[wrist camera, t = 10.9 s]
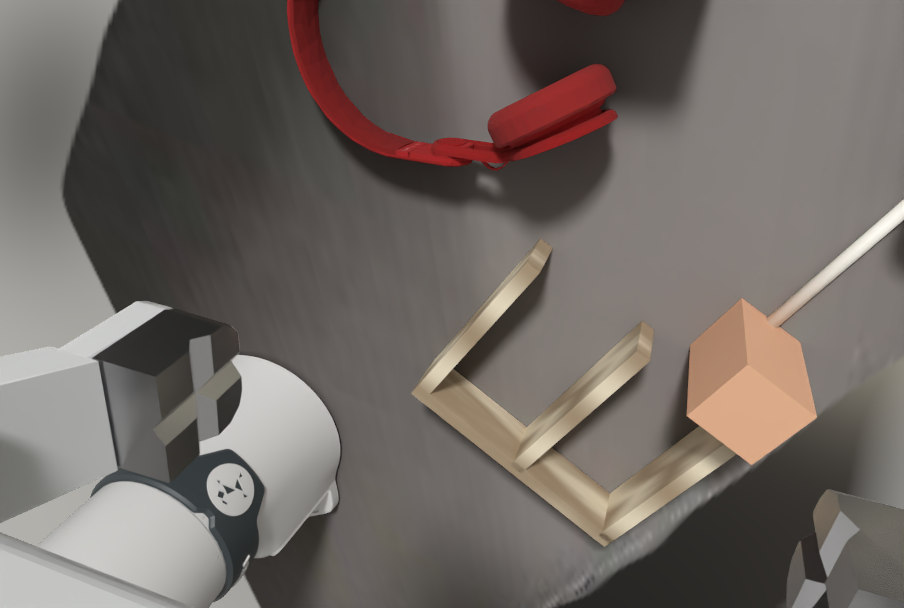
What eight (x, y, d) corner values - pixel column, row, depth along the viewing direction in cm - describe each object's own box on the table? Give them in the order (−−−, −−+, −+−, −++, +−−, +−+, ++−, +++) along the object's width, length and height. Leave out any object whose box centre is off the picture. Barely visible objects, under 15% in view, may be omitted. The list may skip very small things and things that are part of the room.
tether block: (745, 387, 45) (751, 464, 38) (690, 344, 45) (686, 415, 38) (1013, 168, 35) (1085, 221, 28) (943, 114, 35) (998, 154, 28)
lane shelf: (611, 508, 53) (604, 546, 49) (430, 364, 52) (411, 393, 49) (748, 406, 46) (751, 443, 42) (540, 238, 45) (526, 262, 42)
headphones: (662, -124, 34) (325, -117, 42) (627, -137, 29) (245, -127, 36) (623, 171, 41) (340, 129, 49) (588, 207, 35) (274, 153, 43)
